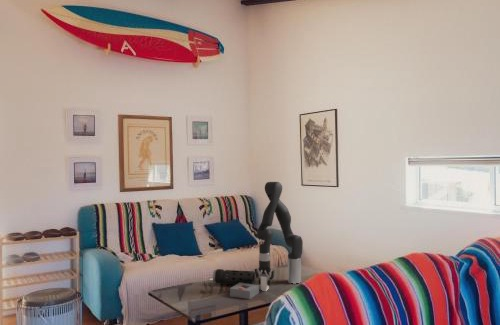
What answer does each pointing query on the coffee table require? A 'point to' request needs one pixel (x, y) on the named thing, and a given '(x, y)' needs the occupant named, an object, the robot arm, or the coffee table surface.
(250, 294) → the socket
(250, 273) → the muzzle brake
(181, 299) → the coffee table surface
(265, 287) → the plug
